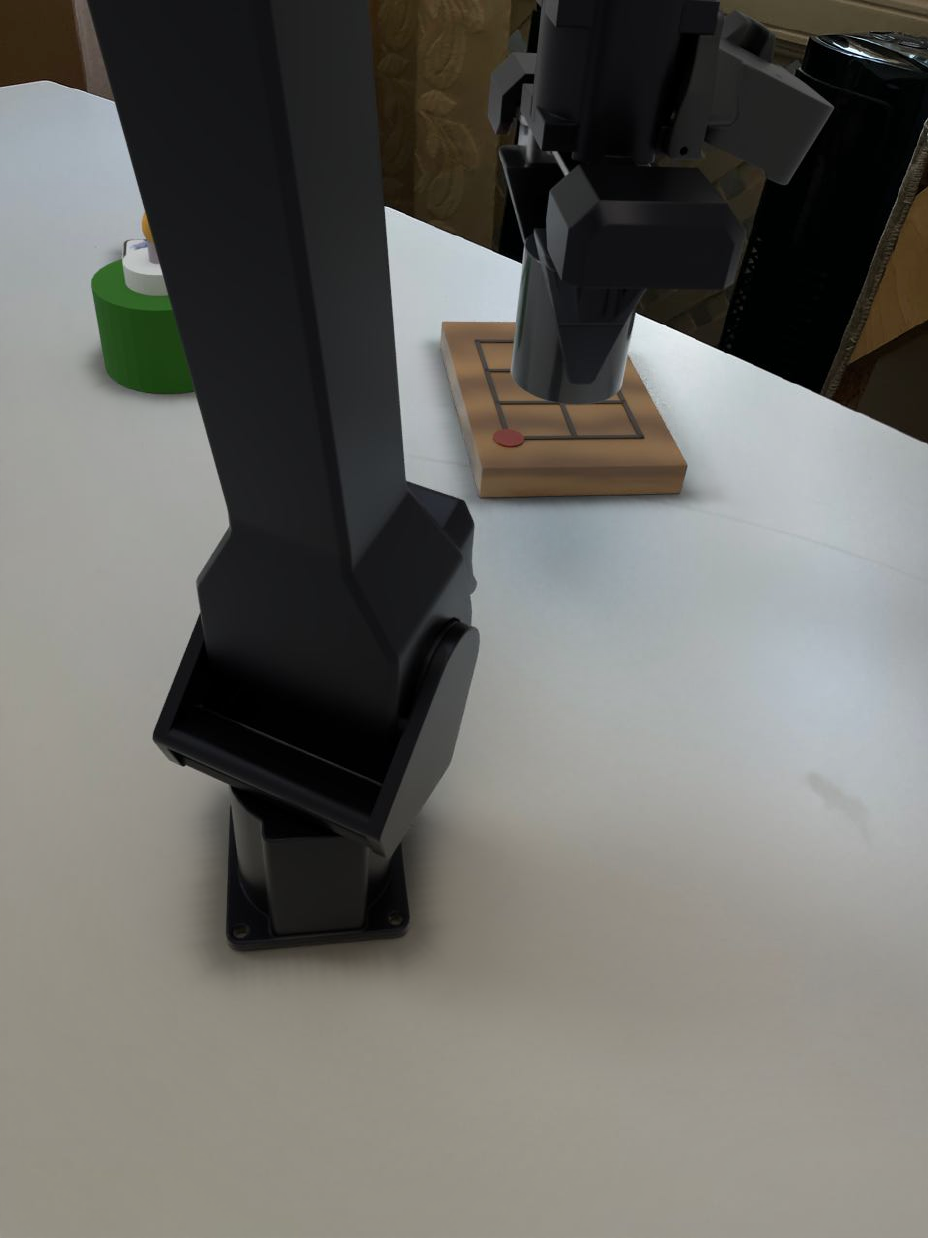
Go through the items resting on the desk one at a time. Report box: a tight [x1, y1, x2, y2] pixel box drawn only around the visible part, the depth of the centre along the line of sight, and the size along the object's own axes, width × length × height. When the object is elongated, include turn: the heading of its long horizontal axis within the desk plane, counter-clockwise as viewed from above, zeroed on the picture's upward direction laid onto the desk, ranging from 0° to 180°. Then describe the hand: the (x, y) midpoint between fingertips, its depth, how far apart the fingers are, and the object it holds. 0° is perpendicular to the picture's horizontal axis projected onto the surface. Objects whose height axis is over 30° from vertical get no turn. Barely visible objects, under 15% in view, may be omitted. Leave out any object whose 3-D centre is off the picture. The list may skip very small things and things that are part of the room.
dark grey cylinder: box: [511, 228, 639, 405], centre depth 45 cm, size 5×5×6 cm
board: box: [439, 321, 689, 498], centre depth 65 cm, size 18×12×2 cm, turn 8°
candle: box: [90, 212, 195, 395], centre depth 64 cm, size 8×8×10 cm
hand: (568, 352), depth 47 cm, fingers closed on dark grey cylinder, 5 cm apart
